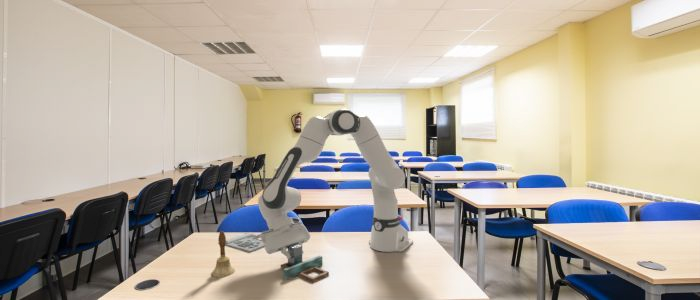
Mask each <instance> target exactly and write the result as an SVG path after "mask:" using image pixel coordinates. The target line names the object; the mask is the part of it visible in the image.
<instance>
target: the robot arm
mask: <svg viewBox="0 0 700 300" xmlns="http://www.w3.org/2000/svg"><path fill="white" fill-rule="evenodd" d="M349 134H350V135H351V137H352V138H353V140H354V142H355V144H356V146H357V147H358V150H359V152H360V153H361V156H362V158H363V159H364V161H365V162H366V163H367V165H369V169H368V178H369V180H370V185H371V191H372V197H373V216H372V226H371V233H370V239H369V241H368V243H369V247H370V248H371V249H372V250H375V251H378V252H384V253H385V252H386V253H388V252H389V253H390V252H391V253H392V252H399V253H401V252H404V251H406V249H407V248H409V247H410V246H411V245H412V244H413V243H414V240H413V239H411V238H409V233H408V230H407V228H405V227H404V226H402V224H401V222H400V221H403V220H404V219H403V218H404V217H403V215H402V216H401V215H398V214H399V212H398V210H399V209H398V206H399V205H398V201H399V200H398V198H397V195H396V191H395V190H398V189H400V188H402V186H403V185H404V184H405V182H406V181H405V180H406V175H405V174H406V173H405V172H404V171H403V170H402V169H401V168H400V166H399V165H398V164H397V162H396V161H395V159H394V158H393V157H392V155H391V154H390V153H389V150H388V149H387V148H386V146H385V144H384V142H383V140H382V138H381V135H380V133H379V132H378V130H377V128H376V126H375V125H374V123H373V122H372V120H371V119H370V118H369V117H368V115H365V114H360V115H357V114H355V113H354V112H353V111H352V110H350V109H347V108H340V109H336V110H333V111H332V112H330V113H328V114H327V115H326V116H324V117H322V116H318V115H316V116H315V115H314V116H312V117H310V118H309V119H308V121H307V122H306V124H305V125H304V127H303V128H302V131H301V133H300V135H299V137H298V138H297V141H296V143H295V144H294V146H293V147H292V148H290V150H289V151H288V152H287V153H286V155H285V156H284V158H283V159H282V161H281V163H280V165H279V166H278V169H277V170H276V171H275V173H274V175H273V177H272V178H271V180H270V181H269V182H268V184H266V186H265V187H264V189H263V191H262V194H261V195H260V196H259V198H258V200H257V204H258V208H259V211H260V213H261V215H262V218H263V219H264V221H266V225H267V228H268V230H264V231H262V232H261V233H260V234H261V235H260V237H259V238H260V240H262V241H263V244H264V247H263V248H264V250H265V252H266V253H267V254H268V255H272V254H275V253H278V252H280V254H282V255H284V256H285V257H286V258H287V260H288V259H291V258H292V257H293V256H292V254H291V253H289V252H288V246H290V245H293V244H298V245H301V246H302V247H303V244H305V243H307V242H309V241H310V239H311V234H310V231H308V229H307V227H306V226H305V225H304V224H303V223H302V220H301V218H299V217H290V216H288V213H290V212H293V211H294V210H296V209H297V208H299V206H300V204H301V202H302V195H301V192H300V191H299V190H298V189H297V188H295V187H292V186H288V183H290V180H291V178H292V177H293V175H294V172H295V171H296V169H297V168H298V167H300V166H301V165H303V164H305V163H311V162H313V161H315V160H317V159H318V158H319V157H320V155H321V153H322V151H323V148H324V146H325V144H326V141H327V139H328V138H329V137H330V136H344V135H349ZM303 254H304V250H303V249H302V255H303Z"/></svg>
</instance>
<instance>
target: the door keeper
mask: <svg viewBox="0 0 700 300" xmlns="http://www.w3.org/2000/svg"><path fill="white" fill-rule="evenodd" d="M321 266H323V255H318V256H315V257H312V258H309V259H307V260H304V261H303V260H302V262H301V263H299V264H296V265H293V266H291V267H288V261H287V262H285V263H284V262H283V263H282V264H280V268H281V269H282V270H283V279H284V280H290V279H291V278H294V277H296V276H298V277H300V278H302V279H303V280H305V281H308V282H311V283H315V282H317V281H319V280H321V279H323V278H326V277H328V276H329V275H330V272H329V271H327V270H325V269H323V268H320V267H321ZM313 272H317V273H318V275H315V276H311V275H308V274H311V273H313Z"/></svg>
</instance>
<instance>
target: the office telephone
mask: <svg viewBox="0 0 700 300" xmlns="http://www.w3.org/2000/svg"><path fill="white" fill-rule="evenodd" d="M260 235H261V233H259V234H257V235H256V234H254V233H253V232H251V231H248V232H245V233H241V234H238V235H235V236H232V237H229V238H226V243H225V246H226V247H230V248H234V249H237V250H241V251H244V252H248V253H253V252H255V251H259V250H261V249H263V248H265V247H264V244H263V241H262V239H259V238H261V237H260Z"/></svg>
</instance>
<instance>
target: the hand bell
mask: <svg viewBox="0 0 700 300" xmlns="http://www.w3.org/2000/svg"><path fill="white" fill-rule="evenodd" d="M226 239H227V237H226V235H225V232H224V230H220V231H219V234H218V245H219V250H220V251H219V253H220V254H219V255H220V256H219V257H218V258H216V265H215V267H214V269H213V270H212V271H211V276H213V277H214V278H223V277H228V276H231V275H233V274H234V273H235V271H236V270H235V268H234V267H233V266H232V265H231V262H230V257H229V256H226V249H225V248H226V247H225V246H226V245H225V243H226Z"/></svg>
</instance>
